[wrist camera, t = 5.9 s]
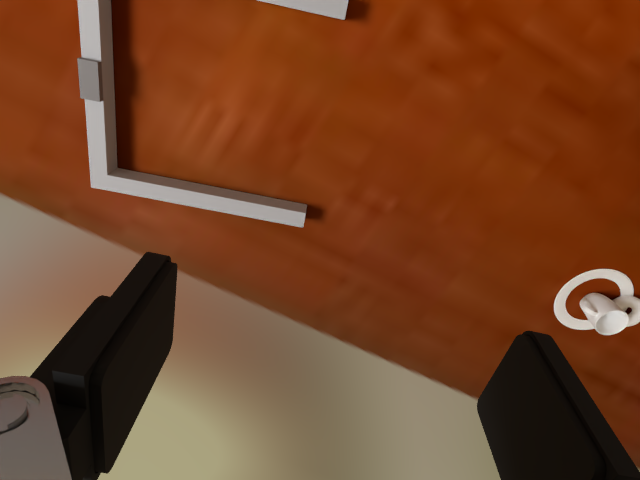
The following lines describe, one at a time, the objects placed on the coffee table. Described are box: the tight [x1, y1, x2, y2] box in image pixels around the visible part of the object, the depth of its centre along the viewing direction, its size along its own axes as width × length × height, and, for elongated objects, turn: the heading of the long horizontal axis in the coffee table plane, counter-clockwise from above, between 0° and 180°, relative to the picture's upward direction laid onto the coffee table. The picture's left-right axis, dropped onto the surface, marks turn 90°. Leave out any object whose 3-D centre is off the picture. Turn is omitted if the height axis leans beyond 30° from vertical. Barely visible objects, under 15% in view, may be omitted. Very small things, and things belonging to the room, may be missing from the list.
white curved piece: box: [554, 269, 640, 335], centre depth 43 cm, size 9×8×4 cm
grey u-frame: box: [77, 0, 349, 227], centre depth 34 cm, size 19×20×3 cm
